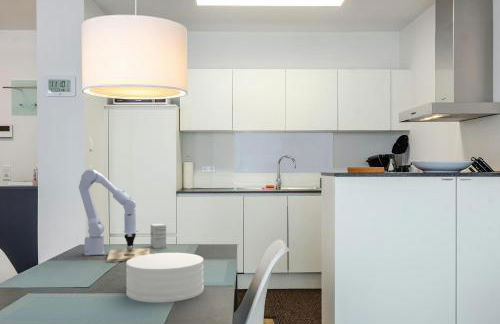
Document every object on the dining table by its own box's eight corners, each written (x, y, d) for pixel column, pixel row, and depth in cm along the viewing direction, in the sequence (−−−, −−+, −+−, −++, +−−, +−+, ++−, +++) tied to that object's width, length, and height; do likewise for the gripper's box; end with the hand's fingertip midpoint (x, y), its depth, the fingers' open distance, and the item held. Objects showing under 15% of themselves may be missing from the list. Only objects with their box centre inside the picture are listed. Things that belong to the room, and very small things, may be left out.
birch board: (106, 262, 215) (106, 259, 215) (110, 252, 238) (110, 249, 238) (149, 260, 220) (149, 257, 220) (149, 250, 243) (149, 248, 243)
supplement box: (150, 246, 257) (150, 224, 257) (163, 245, 260) (163, 223, 260) (153, 248, 250) (153, 225, 250) (166, 247, 253) (166, 224, 253)
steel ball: (126, 252, 233) (126, 246, 233) (126, 250, 236) (127, 244, 235) (132, 252, 234) (132, 246, 233) (132, 250, 237) (133, 244, 236)
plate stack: (169, 277, 187) (169, 249, 187) (219, 289, 169) (219, 258, 169) (110, 292, 165) (110, 261, 165) (160, 308, 147) (160, 273, 147)
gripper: (137, 223, 232) (138, 250, 232) (138, 220, 246) (138, 245, 246) (123, 224, 230) (123, 251, 230) (124, 220, 245) (124, 246, 245)
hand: (130, 248), depth 238 cm, fingers open, 3 cm apart
